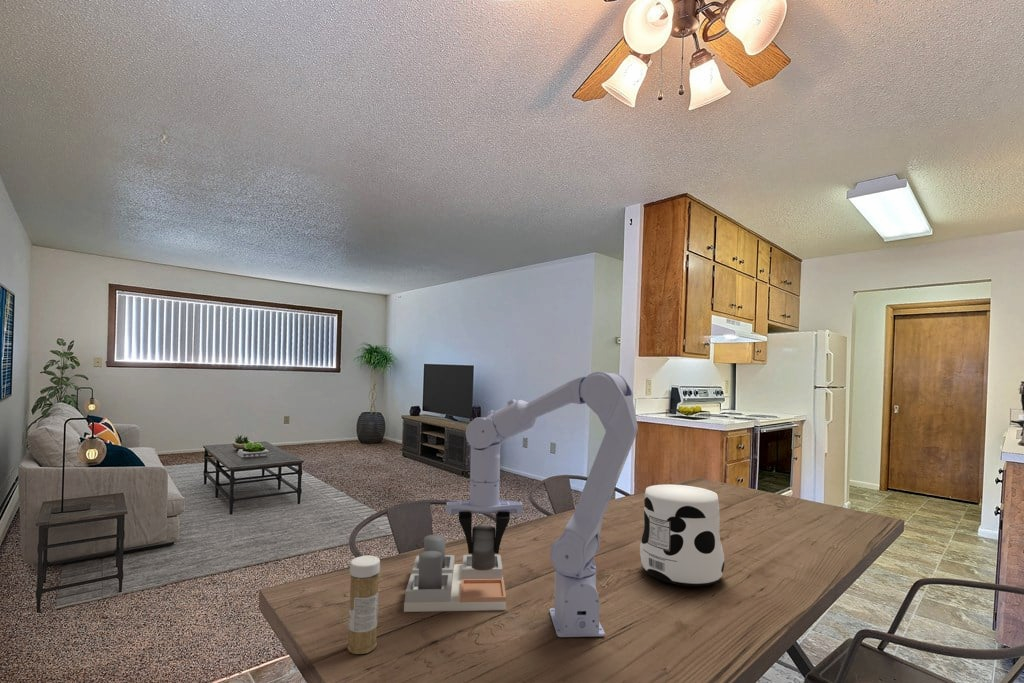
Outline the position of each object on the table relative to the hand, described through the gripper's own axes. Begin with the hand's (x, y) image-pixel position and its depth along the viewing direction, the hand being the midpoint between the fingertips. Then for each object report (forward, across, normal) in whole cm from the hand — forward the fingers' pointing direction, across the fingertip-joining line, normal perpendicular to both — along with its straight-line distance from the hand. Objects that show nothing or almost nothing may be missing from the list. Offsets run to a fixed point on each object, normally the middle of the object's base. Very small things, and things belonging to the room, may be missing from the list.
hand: (483, 551), depth 97 cm
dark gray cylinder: (+3, 0, 0) cm, 3 cm away
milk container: (+9, -43, -10) cm, 45 cm away
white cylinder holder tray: (+9, +5, -5) cm, 11 cm away
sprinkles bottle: (+9, +19, +16) cm, 26 cm away
